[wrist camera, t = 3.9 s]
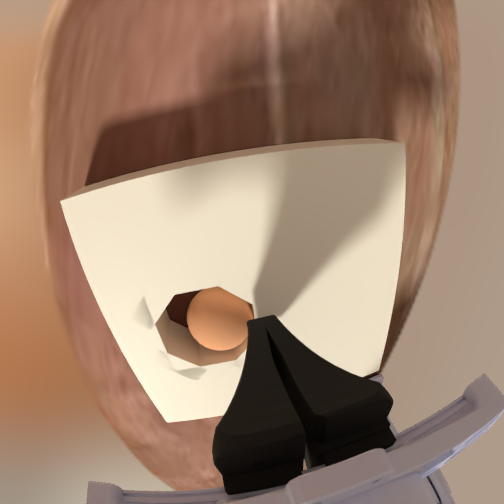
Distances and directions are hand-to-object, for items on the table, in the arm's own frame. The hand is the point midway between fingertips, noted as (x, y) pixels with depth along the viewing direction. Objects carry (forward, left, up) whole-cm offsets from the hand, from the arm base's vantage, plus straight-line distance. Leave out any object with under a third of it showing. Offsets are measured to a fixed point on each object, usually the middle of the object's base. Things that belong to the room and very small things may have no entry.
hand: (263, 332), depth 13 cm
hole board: (0, 0, -4) cm, 4 cm away
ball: (0, +2, -2) cm, 3 cm away
